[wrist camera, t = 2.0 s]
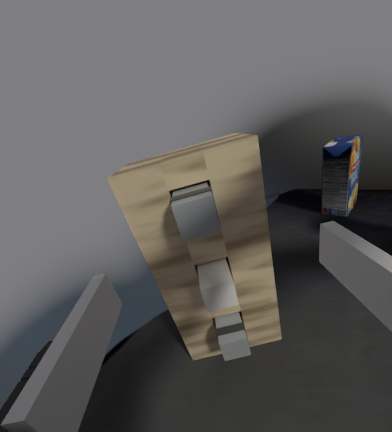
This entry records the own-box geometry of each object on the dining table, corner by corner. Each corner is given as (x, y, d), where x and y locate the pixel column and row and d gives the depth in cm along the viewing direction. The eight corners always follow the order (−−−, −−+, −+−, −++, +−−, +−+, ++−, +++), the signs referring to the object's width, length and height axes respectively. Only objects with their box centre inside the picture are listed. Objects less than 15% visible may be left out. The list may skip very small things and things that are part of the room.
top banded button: (182, 223, 26) (171, 191, 24) (215, 213, 26) (207, 180, 24) (182, 242, 22) (169, 205, 20) (222, 232, 22) (213, 193, 20)
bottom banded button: (218, 332, 37) (213, 316, 35) (243, 326, 36) (239, 309, 34) (224, 361, 32) (218, 344, 30) (252, 355, 32) (247, 337, 30)
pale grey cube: (204, 285, 31) (197, 264, 30) (230, 278, 31) (225, 257, 29) (208, 312, 27) (200, 289, 25) (238, 304, 27) (233, 281, 25)
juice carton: (332, 200, 78) (335, 137, 68) (356, 202, 72) (362, 134, 62) (321, 213, 71) (322, 147, 61) (346, 217, 66) (352, 144, 56)
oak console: (190, 316, 48) (128, 163, 32) (262, 298, 47) (235, 132, 31) (192, 360, 39) (107, 178, 23) (281, 339, 38) (257, 135, 22)
